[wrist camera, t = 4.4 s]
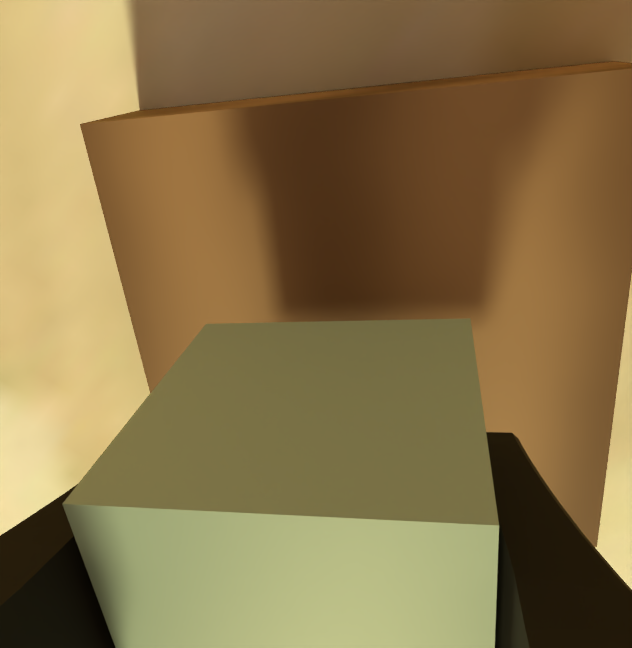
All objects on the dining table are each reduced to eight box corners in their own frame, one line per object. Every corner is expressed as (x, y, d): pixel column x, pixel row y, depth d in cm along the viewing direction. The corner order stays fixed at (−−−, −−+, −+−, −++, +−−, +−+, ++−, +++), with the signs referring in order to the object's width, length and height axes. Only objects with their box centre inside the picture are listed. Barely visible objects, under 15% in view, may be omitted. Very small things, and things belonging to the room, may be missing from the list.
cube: (470, 318, 10) (499, 525, 6) (468, 530, 12) (489, 801, 8) (205, 324, 11) (62, 504, 7) (245, 519, 13) (155, 752, 9)
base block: (613, 61, 13) (657, 65, 11) (573, 474, 18) (596, 546, 16) (138, 110, 16) (79, 124, 13) (216, 462, 21) (184, 524, 18)
